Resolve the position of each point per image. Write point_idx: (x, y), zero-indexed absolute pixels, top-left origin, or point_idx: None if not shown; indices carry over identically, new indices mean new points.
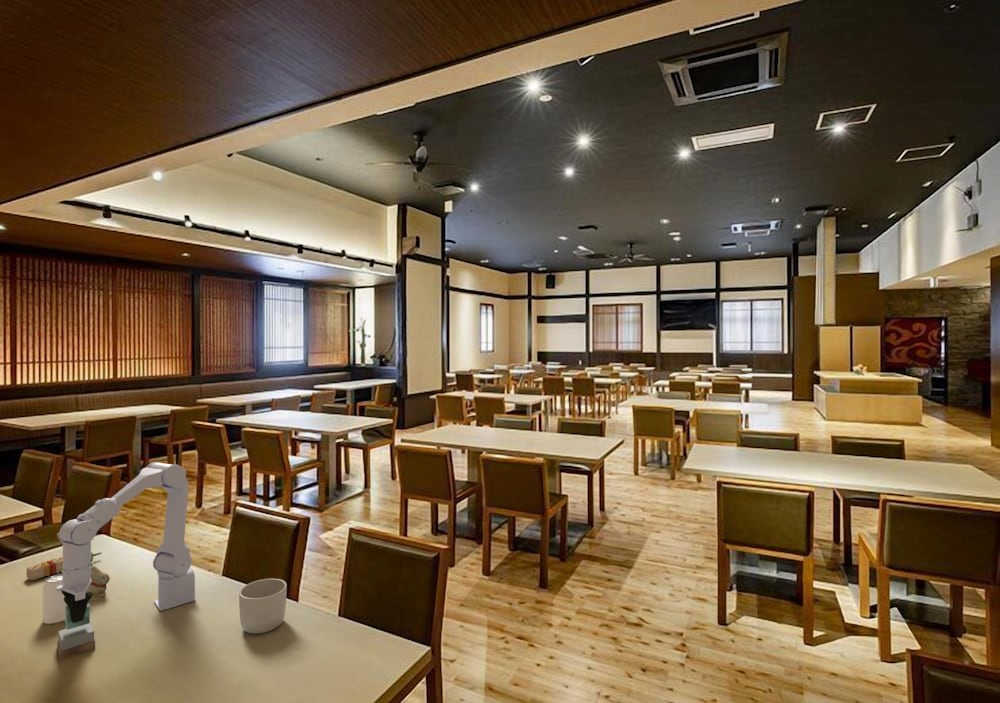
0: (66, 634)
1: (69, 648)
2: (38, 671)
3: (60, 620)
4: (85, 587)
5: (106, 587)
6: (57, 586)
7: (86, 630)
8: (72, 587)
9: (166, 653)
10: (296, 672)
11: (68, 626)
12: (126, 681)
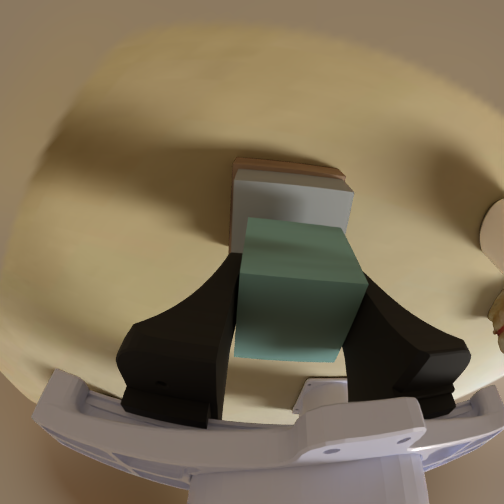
0: (288, 206)
1: None
2: (206, 94)
3: (482, 227)
4: (131, 472)
5: (493, 333)
6: (418, 433)
7: None
8: (194, 477)
9: (98, 328)
10: (16, 361)
11: (247, 228)
12: (36, 254)
